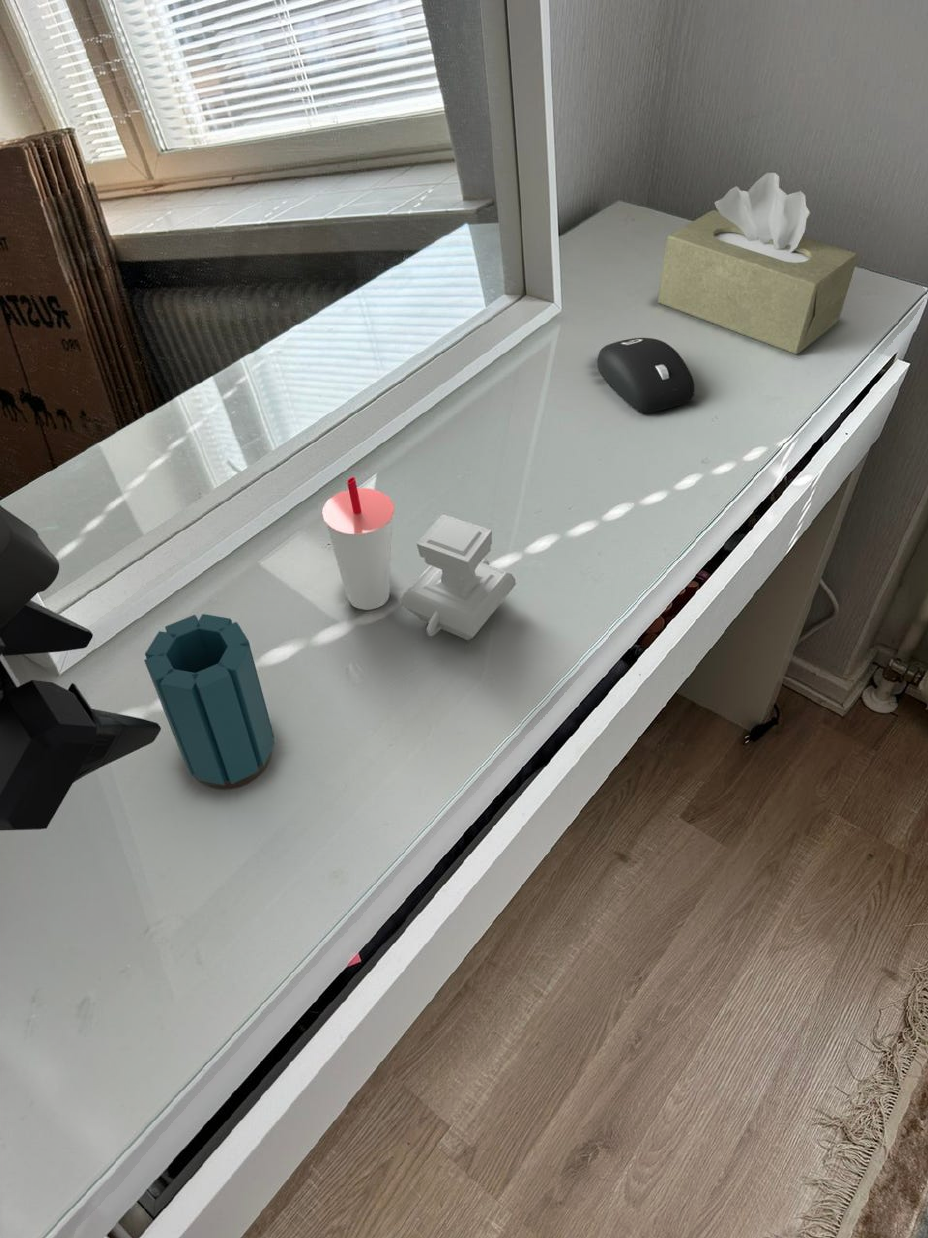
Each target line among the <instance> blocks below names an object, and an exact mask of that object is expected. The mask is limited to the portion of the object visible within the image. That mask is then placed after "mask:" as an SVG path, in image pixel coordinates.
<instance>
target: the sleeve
mask: <svg viewBox="0 0 928 1238" xmlns="http://www.w3.org/2000/svg"><path fill="white" fill-rule="evenodd" d="M164 628H165V631H161V630H159V631H158V632H157V634H156V635H155V637H154V638H153V640H152V642H151V643H150V644H149V646H148V648H147V650H146V651H145V653H144V656H145V659H144V664H145V666H146V669H147V671H148V674H149V677H150V679H151V681H152V684H153V686H154V689H155V692H156V694H157V696H158V699H159V702H160V704H161V707H162V709H163V713H164V714H165V717H166V719H167V722H168V724H169V727H170V730H171V732H172V734H173V737H174V739H175V743H176V744H177V747H178V749H179V752H180V755H181V757H182V760H183V762H184V763H185V765H186V767H187V769H188V771H189V773H190V776H192V777H195V776H196V777H195V778H196V780H197V781H199V780H200V781H205V782H210V783H215V784H220V785H225V783H226V781H227V779H229V781H230V783H231V784H233V783H236V782H238V781H240V780H242V779H244V778H246V777H248V776H250V775H252V774H254V773H256V772H258V771H259V769H258V766H257V765H260V766H264V765H265V763H266V761H267V758H268V756H269V754H270V752H271V750H272V751H273V748H274V745H275V740H274V739H275V735H274V731H273V727H272V724H271V720H270V716H269V712H268V708H267V705H266V701H265V697H264V693H263V689H262V686H261V682H260V679H259V678H260V677H259V675H258V671H257V667H256V662H255V659H254V655H253V652H252V648H251V645H250V641H249V639H248V637H247V635H246V634H245V633H244V631H243V629H242V628H241V626H240V625H239V623H238V622H237V621H235V622H233V620H232V619H231V618H230V617H223V616H219V615H218V616H217V615H212V614H205V613H202V614H201V616H200V617H199V618H198V616H197V615H196V614H193V615H190V616H188V617H186V618H183V619H180V620H178V621H176V622H173V623H171V624H168V625H166V626H165V627H164ZM194 775H195V776H194ZM200 781H199V782H200Z"/></svg>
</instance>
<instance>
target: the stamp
mask: <svg viewBox="0 0 928 1238" xmlns="http://www.w3.org/2000/svg"><path fill="white" fill-rule="evenodd" d="M492 534H493V530H492V529H489V528H487V527H484V526H481V525H477V524H474V523H471V522H468V521H466V520H463V519H460V518H456V517H453V516H450V515H446V514H444V513H443V514H441V515H440V516H439V517H438V518H437V520H435V522H434V523H433V524H432V525H431V526H430V528H429V529H428V530H427V531H426V532H425V533H424V534H423V535H422V537H421V538H420V539H419V540H418V541H417V542H416V546H417V547H416V548H417V549H418V553H419V557H421V558H423V559H424V563H426V564H427V565H429V566H428V567H427V568H426V569H425V570H424V571H423V573H422V574H421V575H420V576H419V577H418V578H417V579H416V580H415V581H414V582H413V583H412V584H411V585H410V586H409V588H408V589H407V590H406V591H405V592H404V593H403V595H402V596H401V599H400V604H399V605H400V607H402V608H404V609H405V610H406V611H408V612H409V613H411V614H412V615H414V616H416V617H418V618H419V619H420V621H423V622H425V623H427V627H426V634H427V636H430V637H432V636H434V635H436V634H437V633H438V632H439V631H441V630H443V631H445V632H448V633H450V634H452V635H455V636H457V637H459V638H461V639H464V640H466V641H470V640H471V639H473V638H474V637H475V636H476V634H477V633H478V632H479V630H480V629H481V628H482V627H483V626H484V625H485V623H486V622H487V621H488V620H489V618H490V617H491V616H492V614H493V613H494V612H495V611H496V610H497V609H498V607H499V606H500V605H501V604H502V602H503V601H504V600H505V599H506V598H507V596H508V595H509V594H510V592H511V591H512V590H513V589H514V588H515V586H516V585H517V582H516V578H515V577H514V575H513V574H512V573H510V572H507V571H505V570H502V569H500V568H497V567H495V566H492V565H490V561H489V560H487V559H486V556H488V554H489V553H490V552H491V549H492V548H491V546H492V544H493V535H492Z"/></svg>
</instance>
